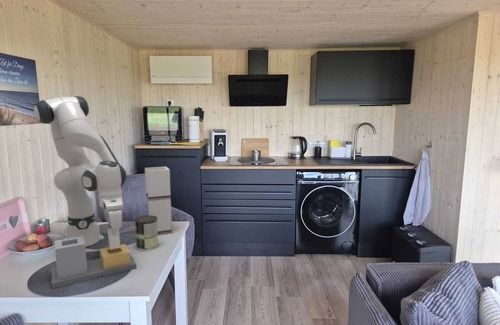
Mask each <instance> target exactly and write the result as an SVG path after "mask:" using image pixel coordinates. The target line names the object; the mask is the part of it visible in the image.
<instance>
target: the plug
mask: <svg viewBox="0 0 500 325" xmlns="http://www.w3.org/2000/svg"><path fill="white" fill-rule="evenodd" d="M107 237H108V238H107V239H108V247H109V248H110V250H111V249H116V248H120V245H121V240H120V238H121V237H120V228H118V229H117V235H115V236H113V235H112V228H111V226H110V225H109V223H108V222H107Z"/></svg>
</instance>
